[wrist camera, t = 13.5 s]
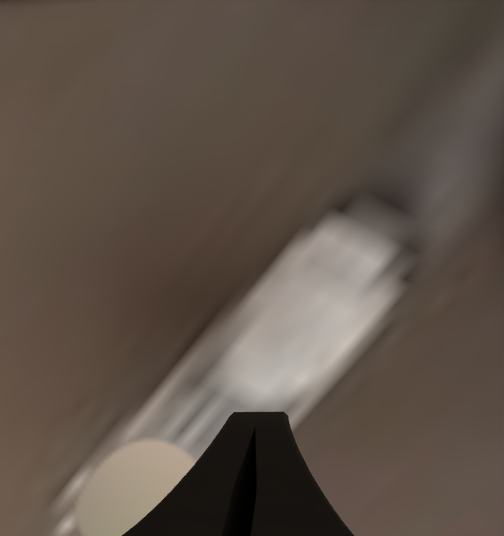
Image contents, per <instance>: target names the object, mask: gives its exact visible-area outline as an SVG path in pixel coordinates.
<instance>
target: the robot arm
mask: <svg viewBox="0 0 504 536" xmlns="http://www.w3.org/2000/svg"><path fill="white" fill-rule="evenodd" d="M122 536H354V535H353V534H352V532H351V531H350V530H349V529H348V527H347V526H346V525H345V524H344V522H343V521H342V520H341V518H340V517H339V516H338V514H337V513H336V512H335V510H334V509H333V507H332V506H331V504H330V503H329V502H328V500H327V499H326V497H325V496H324V494H323V492H322V491H321V489H320V488H319V486H318V484H317V483H316V481H315V479H314V478H313V476H312V474H311V472H310V471H309V469H308V467H307V465H306V463H305V461H304V459H303V457H302V455H301V453H300V451H299V449H298V446H297V444H296V442H295V439H294V437H293V434H292V431H291V428H290V424H289V419H288V415H286V414H285V413H284V412H234V413H233V414H232V415H231V416H230V417H229V418H228V420H227V421H226V423H225V424H224V426H223V427H222V429H221V430H220V432H219V433H218V435H217V436H216V437H215V439H214V440H213V441H212V443H211V444H210V446H209V447H208V448H207V449H206V451H205V452H204V453H203V455H202V456H201V457H200V458H199V460H198V461H197V462H196V463H195V465H194V466H193V467H192V468H191V469H190V471H189V472H188V473H187V474H186V475H185V476H184V477H183V478H182V480H181V481H180V482H179V483H178V484H177V485H176V486H175V487H174V489H173V490H172V491H171V492H170V493H169V494H168V495H167V496H166V497H165V498H164V499H163V500H162V501H161V502H160V503H159V504H158V505H157V506H156V507H155V508H154V509H153V510H152V511H151V512H149V513H148V514H147V515H146V516H145V517H144V518H143V519H142V520H141V521H140V522H138V523H137V524H136V525H135V526H134V527H133V528H131V529H130V530H129V531H127V532H126V533H125V534H123V535H122Z"/></svg>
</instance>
